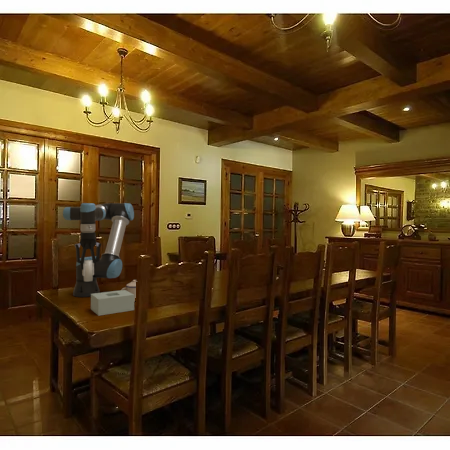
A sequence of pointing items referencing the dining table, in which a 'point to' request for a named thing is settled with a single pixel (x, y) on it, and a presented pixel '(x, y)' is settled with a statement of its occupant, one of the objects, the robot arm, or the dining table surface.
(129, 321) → the dining table surface
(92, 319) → the dining table surface
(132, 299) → the block
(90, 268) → the cylinder
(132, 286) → the teacup with lid
